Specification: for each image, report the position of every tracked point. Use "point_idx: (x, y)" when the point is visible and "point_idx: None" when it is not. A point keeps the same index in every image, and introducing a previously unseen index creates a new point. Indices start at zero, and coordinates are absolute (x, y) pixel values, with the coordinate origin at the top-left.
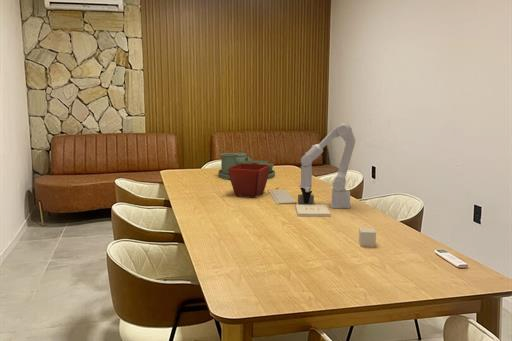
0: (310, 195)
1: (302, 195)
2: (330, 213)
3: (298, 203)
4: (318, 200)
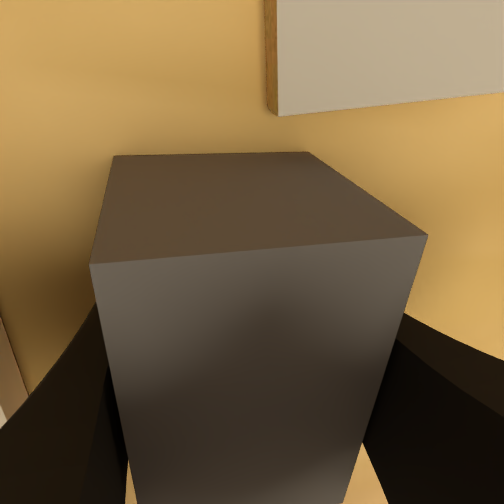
0: (261, 493)
1: (278, 356)
2: None
3: (195, 163)
4: None
